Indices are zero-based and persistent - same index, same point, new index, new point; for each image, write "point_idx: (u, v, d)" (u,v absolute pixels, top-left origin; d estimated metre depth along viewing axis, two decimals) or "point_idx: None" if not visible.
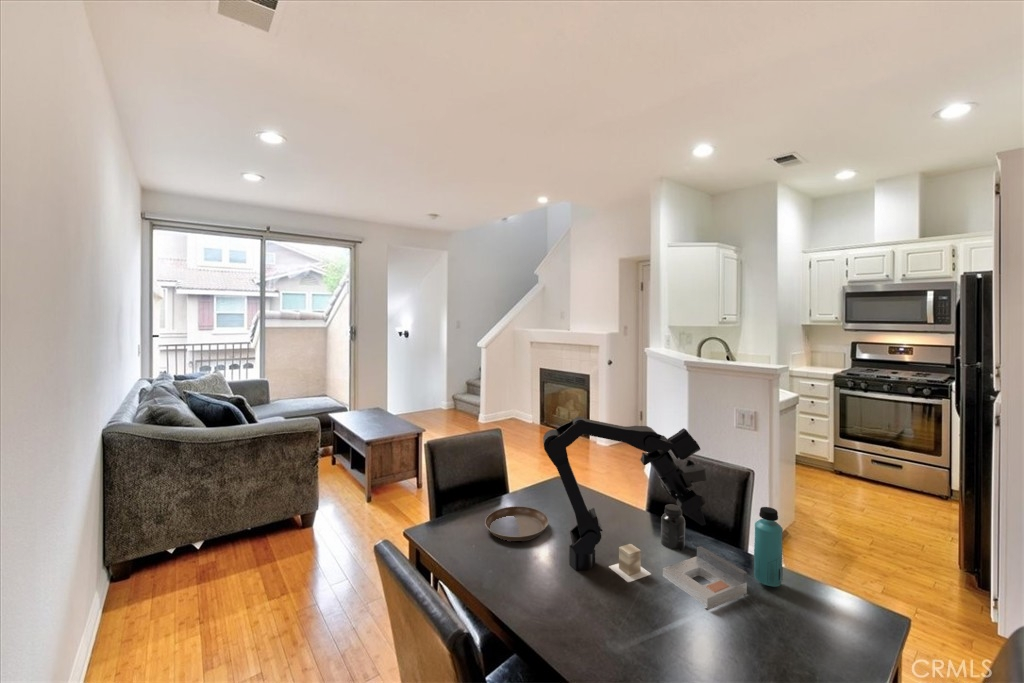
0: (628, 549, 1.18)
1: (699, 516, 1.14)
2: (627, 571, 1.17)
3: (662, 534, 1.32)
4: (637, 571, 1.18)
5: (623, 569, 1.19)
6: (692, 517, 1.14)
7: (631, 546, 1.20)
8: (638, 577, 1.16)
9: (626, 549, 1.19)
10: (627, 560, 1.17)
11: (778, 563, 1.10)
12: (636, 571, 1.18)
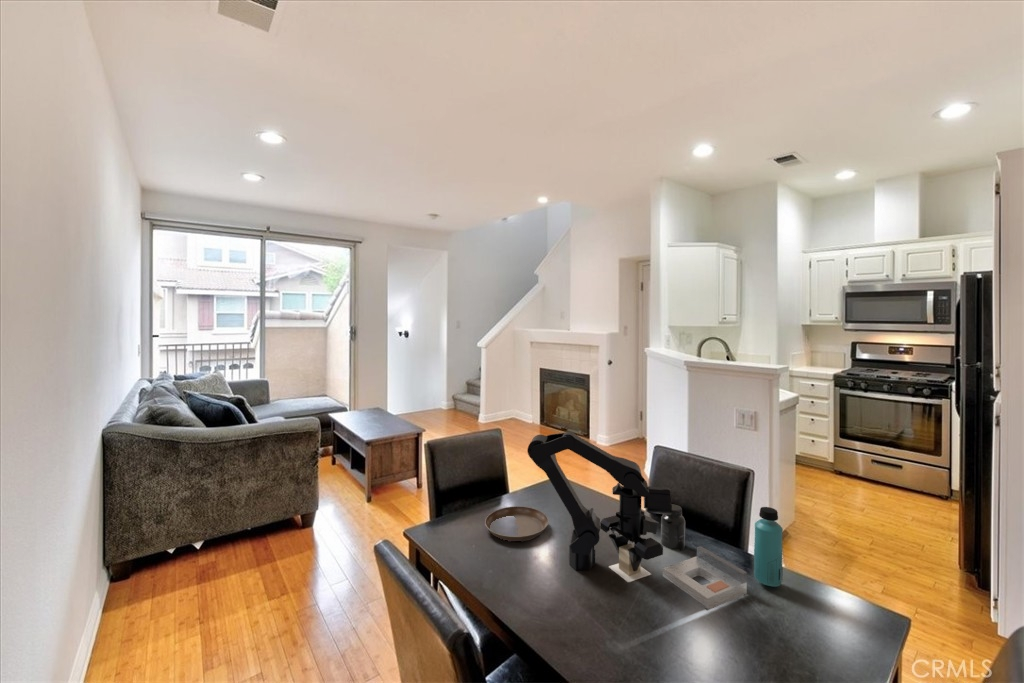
0: None
1: (638, 561, 1.16)
2: (627, 571, 1.17)
3: (662, 534, 1.32)
4: (637, 571, 1.18)
5: (623, 569, 1.19)
6: (634, 560, 1.15)
7: (631, 546, 1.20)
8: (638, 577, 1.16)
9: (626, 549, 1.19)
10: (627, 560, 1.17)
11: (778, 563, 1.10)
12: (636, 571, 1.18)
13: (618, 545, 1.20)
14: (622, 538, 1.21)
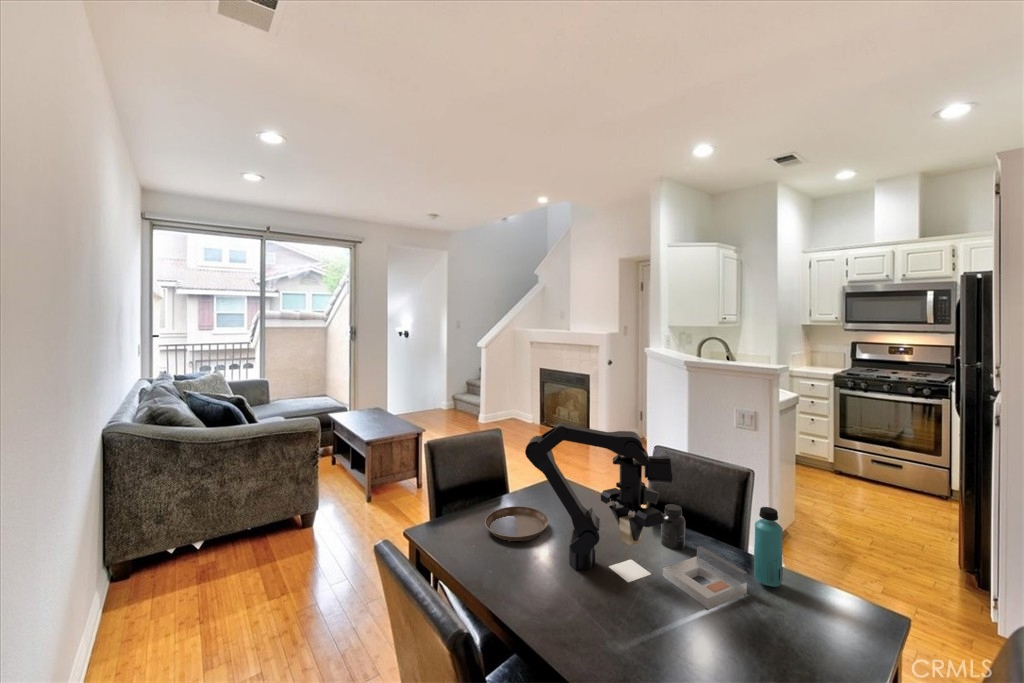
0: None
1: (639, 530, 1.16)
2: (628, 541, 1.17)
3: (662, 534, 1.32)
4: (638, 541, 1.17)
5: (624, 539, 1.18)
6: (634, 529, 1.15)
7: None
8: (638, 577, 1.16)
9: (627, 519, 1.18)
10: (628, 530, 1.16)
11: (778, 563, 1.10)
12: (637, 541, 1.17)
13: (618, 516, 1.20)
14: (622, 509, 1.21)
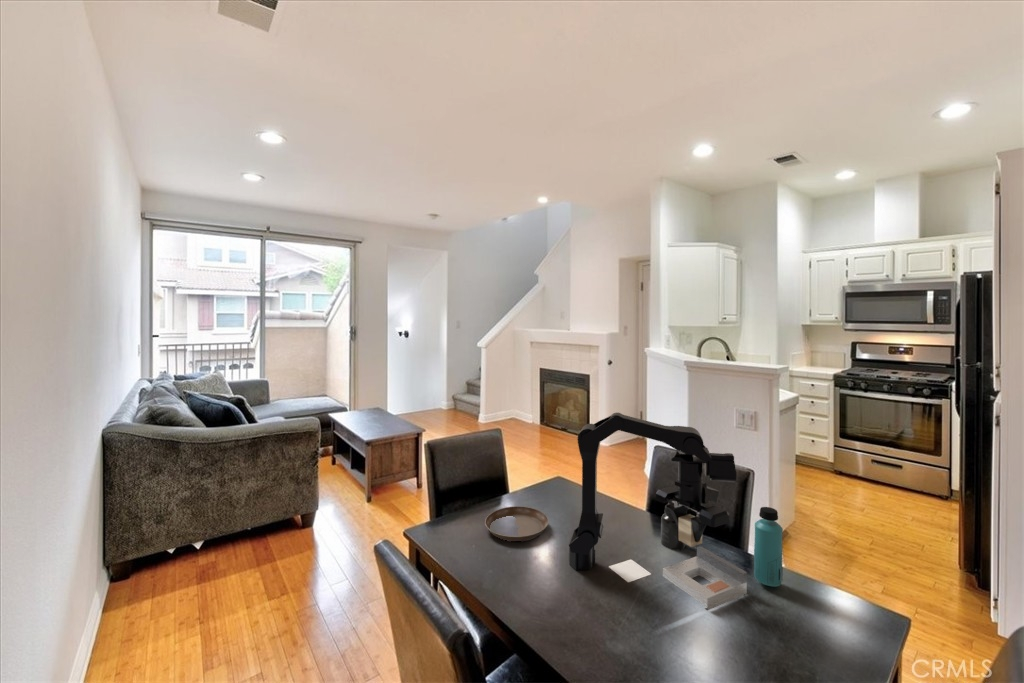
0: (689, 519, 1.12)
1: (701, 531, 1.10)
2: (689, 542, 1.11)
3: (662, 534, 1.32)
4: (699, 542, 1.12)
5: (684, 540, 1.13)
6: (697, 529, 1.09)
7: (691, 516, 1.14)
8: (638, 577, 1.16)
9: (686, 519, 1.13)
10: (689, 530, 1.11)
11: (778, 563, 1.10)
12: (698, 542, 1.12)
13: (677, 516, 1.14)
14: (681, 508, 1.15)
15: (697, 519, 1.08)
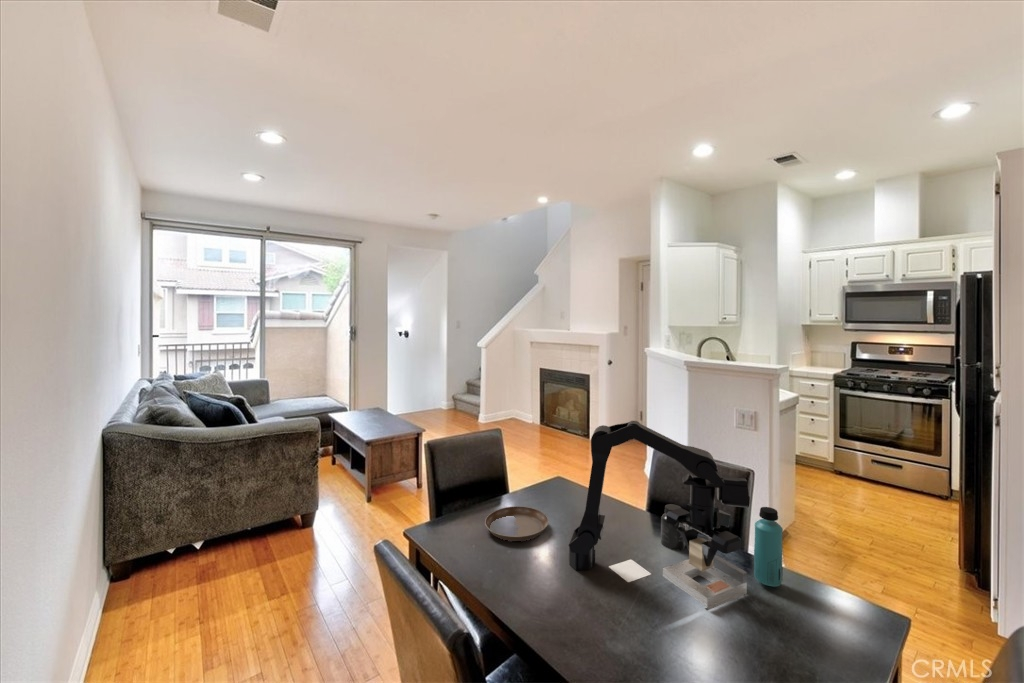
0: (700, 543, 1.12)
1: (712, 555, 1.10)
2: (700, 566, 1.11)
3: (662, 534, 1.32)
4: (710, 566, 1.11)
5: (694, 564, 1.12)
6: (708, 554, 1.09)
7: (702, 540, 1.13)
8: (638, 577, 1.16)
9: (698, 543, 1.12)
10: (700, 554, 1.10)
11: (778, 563, 1.10)
12: (709, 566, 1.11)
13: (688, 539, 1.14)
14: (692, 531, 1.15)
15: (709, 544, 1.08)
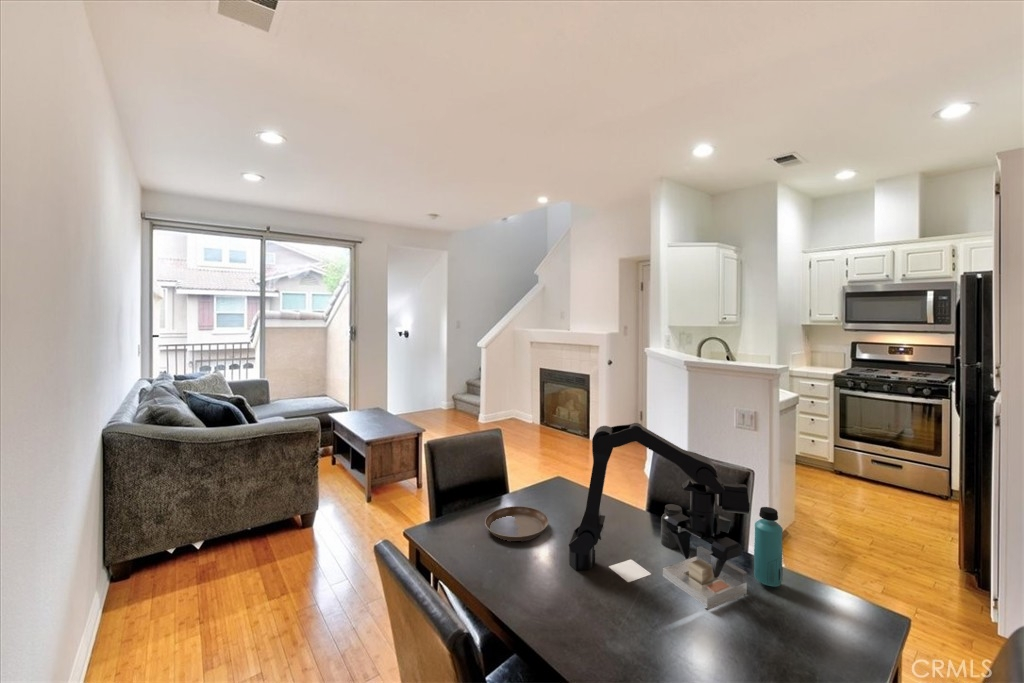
0: (700, 566, 1.12)
1: (720, 566, 1.07)
2: None
3: (662, 534, 1.32)
4: None
5: None
6: (717, 565, 1.06)
7: (702, 562, 1.14)
8: (638, 577, 1.16)
9: (697, 565, 1.12)
10: (699, 577, 1.11)
11: (778, 563, 1.10)
12: None
13: (681, 540, 1.16)
14: (684, 533, 1.17)
15: None
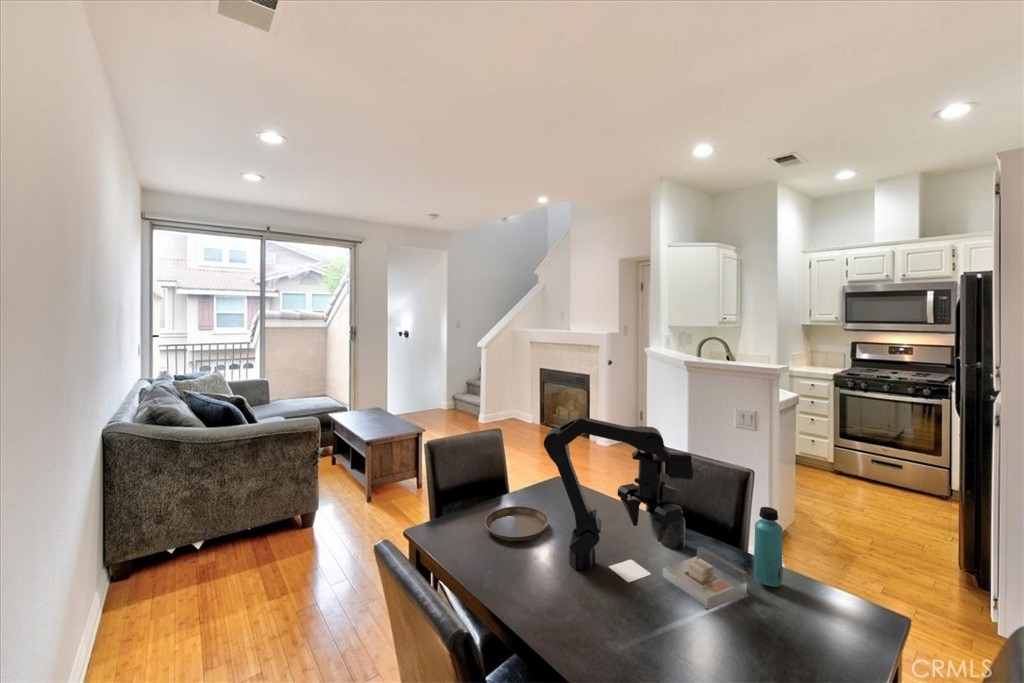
0: (700, 566, 1.12)
1: (663, 531, 1.12)
2: None
3: None
4: None
5: None
6: (659, 530, 1.11)
7: (701, 562, 1.14)
8: (638, 577, 1.16)
9: (697, 565, 1.12)
10: (699, 577, 1.11)
11: (778, 563, 1.10)
12: None
13: (630, 508, 1.21)
14: (634, 501, 1.22)
15: None
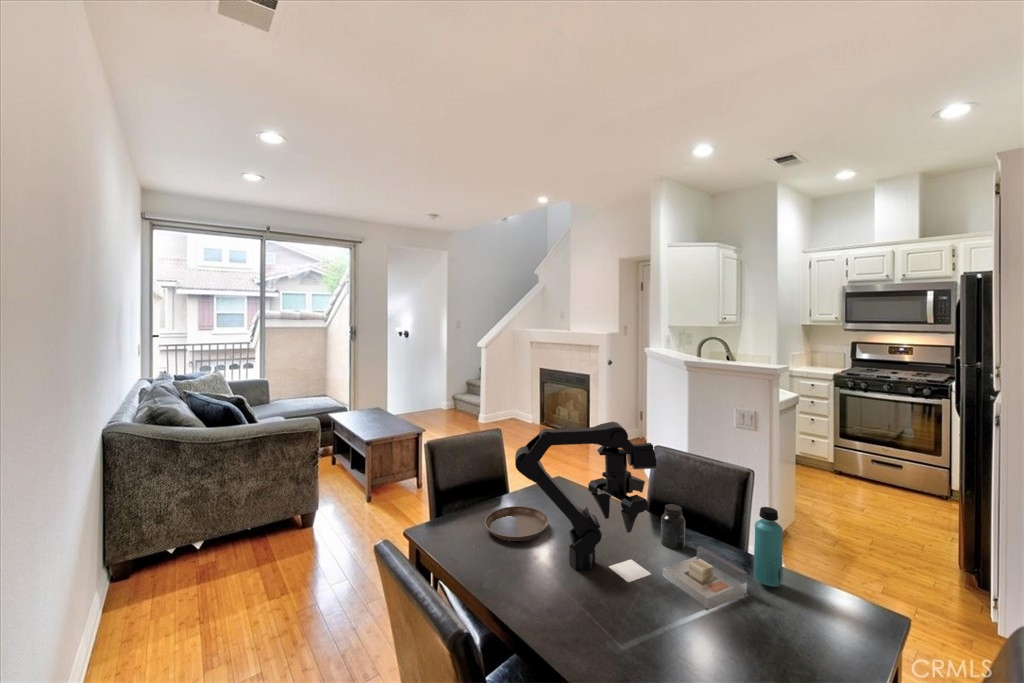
0: (700, 566, 1.12)
1: (631, 522, 1.16)
2: None
3: (662, 534, 1.32)
4: None
5: None
6: (627, 521, 1.15)
7: (701, 562, 1.14)
8: (638, 577, 1.16)
9: (697, 565, 1.12)
10: (699, 577, 1.11)
11: (778, 563, 1.10)
12: None
13: (600, 501, 1.25)
14: (604, 495, 1.25)
15: None
